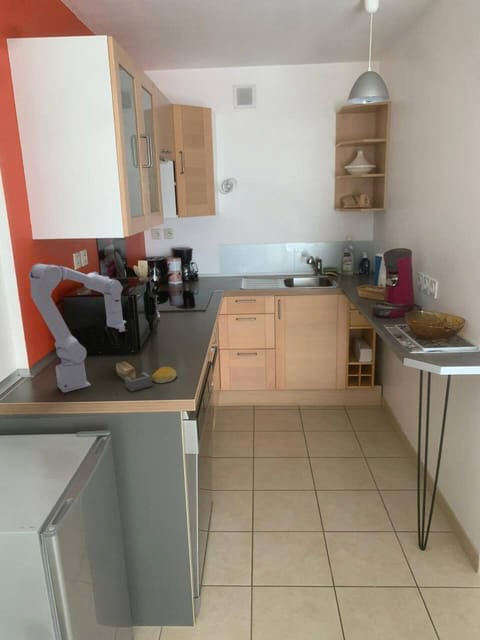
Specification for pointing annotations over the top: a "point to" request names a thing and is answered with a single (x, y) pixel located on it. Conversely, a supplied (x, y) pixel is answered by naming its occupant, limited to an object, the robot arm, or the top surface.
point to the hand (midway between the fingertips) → (118, 346)
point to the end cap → (138, 382)
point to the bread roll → (164, 375)
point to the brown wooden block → (125, 370)
